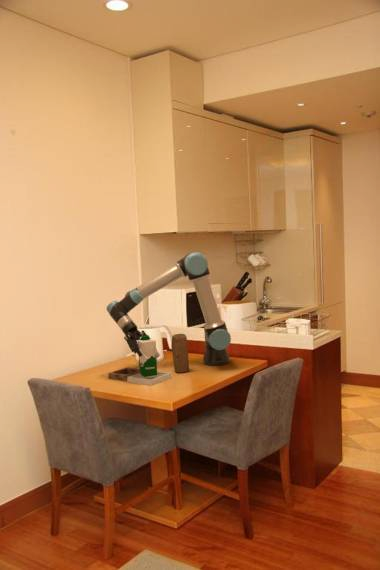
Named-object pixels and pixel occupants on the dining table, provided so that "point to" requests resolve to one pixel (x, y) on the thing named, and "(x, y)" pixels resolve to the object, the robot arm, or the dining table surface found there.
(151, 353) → the soya milk
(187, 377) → the dining table surface
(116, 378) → the dark brown square tray
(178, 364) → the block
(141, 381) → the tray
